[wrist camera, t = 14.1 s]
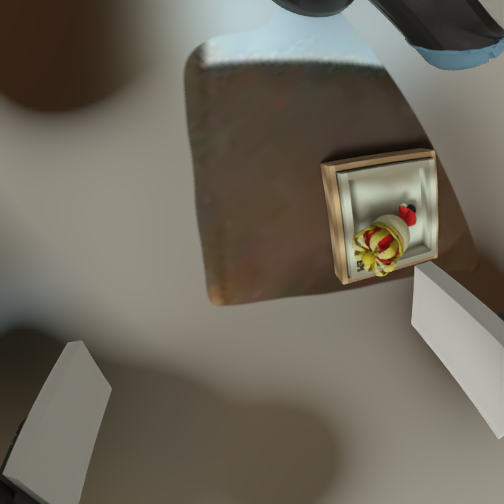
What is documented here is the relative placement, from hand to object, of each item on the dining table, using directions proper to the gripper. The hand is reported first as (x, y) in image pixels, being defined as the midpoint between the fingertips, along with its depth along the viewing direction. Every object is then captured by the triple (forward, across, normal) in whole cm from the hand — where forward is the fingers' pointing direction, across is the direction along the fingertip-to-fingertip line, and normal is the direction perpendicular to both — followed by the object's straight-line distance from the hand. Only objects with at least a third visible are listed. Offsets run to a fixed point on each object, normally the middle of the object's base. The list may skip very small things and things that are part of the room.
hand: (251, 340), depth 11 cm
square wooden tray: (+35, +22, -9) cm, 42 cm away
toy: (+32, +26, -9) cm, 42 cm away
